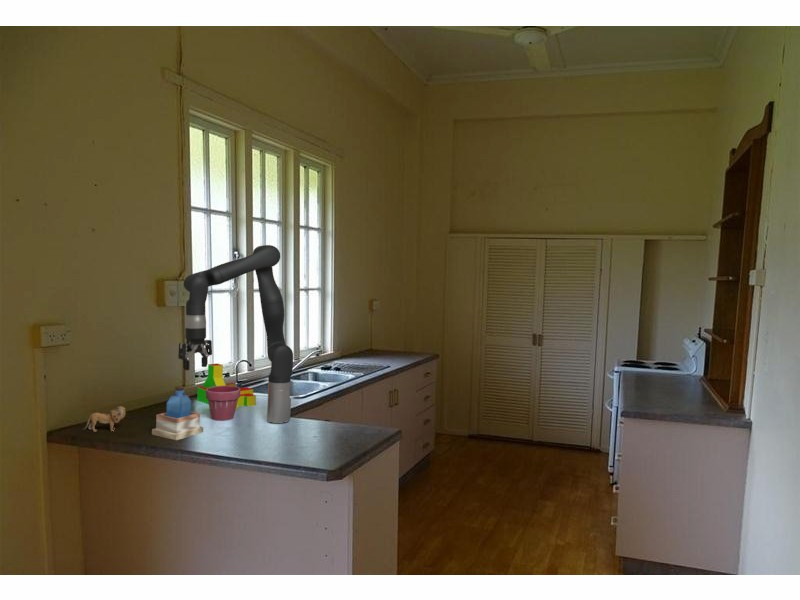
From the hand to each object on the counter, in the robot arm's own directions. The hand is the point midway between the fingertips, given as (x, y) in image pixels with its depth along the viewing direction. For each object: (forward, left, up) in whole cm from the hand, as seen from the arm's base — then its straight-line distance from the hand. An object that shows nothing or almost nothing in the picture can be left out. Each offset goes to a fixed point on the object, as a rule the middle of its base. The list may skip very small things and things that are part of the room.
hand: (195, 368), depth 210 cm
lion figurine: (+16, -29, -26) cm, 42 cm away
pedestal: (+4, -4, -25) cm, 26 cm away
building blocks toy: (-45, -26, -26) cm, 58 cm away
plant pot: (-22, -7, -25) cm, 35 cm away
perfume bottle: (+4, -4, -19) cm, 20 cm away
